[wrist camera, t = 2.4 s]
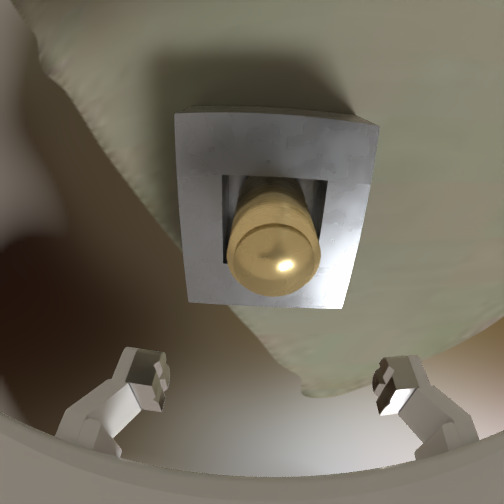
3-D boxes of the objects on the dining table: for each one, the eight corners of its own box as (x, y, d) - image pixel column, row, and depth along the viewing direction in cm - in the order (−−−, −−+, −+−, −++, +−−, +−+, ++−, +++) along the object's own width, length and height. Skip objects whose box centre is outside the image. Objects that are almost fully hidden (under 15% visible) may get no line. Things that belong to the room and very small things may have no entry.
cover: (238, 167, 22) (224, 218, 14) (307, 171, 22) (329, 224, 14) (237, 228, 24) (226, 299, 17) (300, 231, 24) (314, 303, 17)
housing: (192, 105, 20) (174, 113, 16) (356, 115, 20) (379, 126, 16) (199, 265, 28) (188, 302, 23) (331, 271, 27) (341, 308, 23)
